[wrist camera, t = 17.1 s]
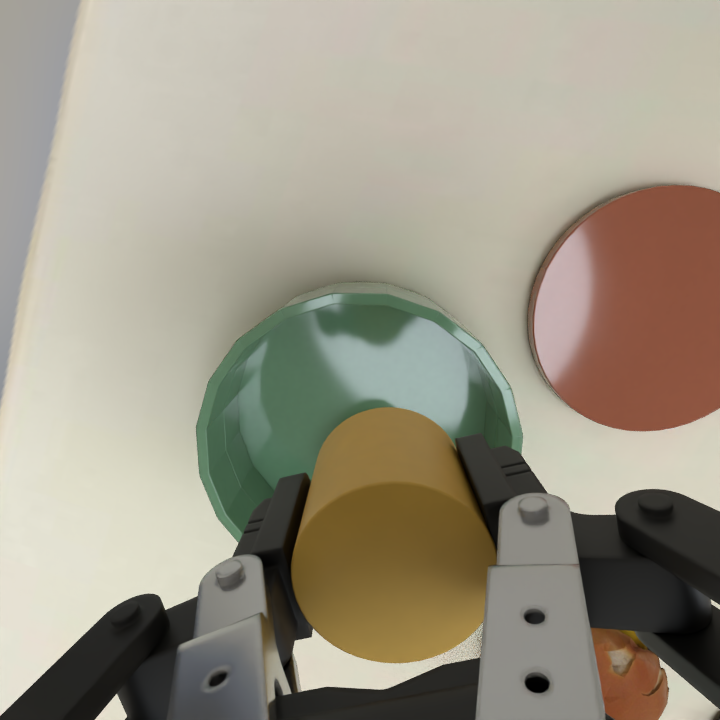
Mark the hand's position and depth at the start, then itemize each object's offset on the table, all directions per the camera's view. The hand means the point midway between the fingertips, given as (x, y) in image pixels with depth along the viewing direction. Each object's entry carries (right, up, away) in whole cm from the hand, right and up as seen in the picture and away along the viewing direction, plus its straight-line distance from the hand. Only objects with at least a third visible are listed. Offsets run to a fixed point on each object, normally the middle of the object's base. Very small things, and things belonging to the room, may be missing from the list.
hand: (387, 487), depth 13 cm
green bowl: (-1, 0, +15) cm, 15 cm away
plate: (+15, +6, +13) cm, 21 cm away
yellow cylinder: (0, 0, +1) cm, 1 cm away
